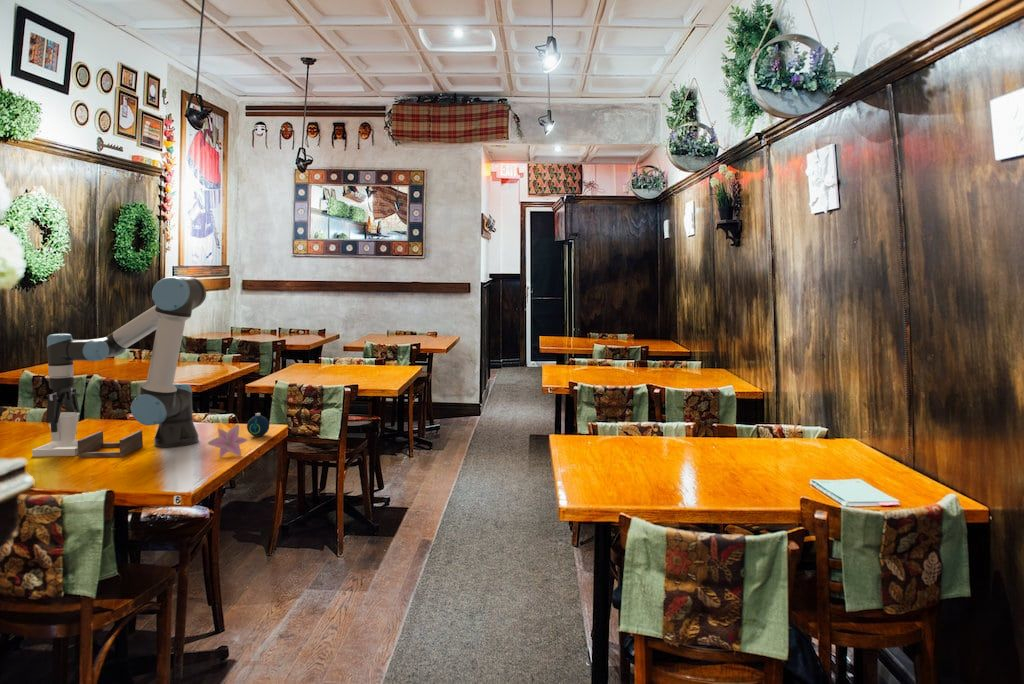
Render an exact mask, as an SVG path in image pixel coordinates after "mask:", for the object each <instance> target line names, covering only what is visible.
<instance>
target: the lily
mask: <svg viewBox="0 0 1024 684" xmlns="http://www.w3.org/2000/svg"><path fill="white" fill-rule="evenodd" d="M217 432H218V433H217V434H218V437H216V438H214V439H211V440H209V441H208V442H207V445H209V446H211V447H215V448H219V458H223V457H224V456H225V455H226V454H227V453H229V452H230V453H232V454H234V455H236V456H238V457H240V456H242V450H241V447H240V445H241V444H244V443H245V442H248V438H244V437H241V436H239V435H240V425H239V424H235V425H233V427H232V428H230V429H228V431H225V430H223V429H222V428H217Z"/></svg>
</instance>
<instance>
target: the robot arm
mask: <svg viewBox="0 0 1024 684" xmlns="http://www.w3.org/2000/svg"><path fill="white" fill-rule="evenodd" d="M206 289H207V288H206V287H205V285H204V283H203V282H202V281H201V280H199V279H197V278H196V277H192V276H167V277H164V278H161V279H160V280H158V281H157V282H156V283H155V284H154V285H153V288H152V290H151V299H152V301H153V302H154V305H153V306H152V307H150V308H148V310H146V311H144V312H142V313H141V314H139V315H138V316H136V317H134V318H133V319H132V320H130V321H128V322H127V323H125V324H124V325H122V326H120V327H119V328H117V329H116V330H114V331H113V332H111V333H110V334H108V335H107V336H105V337H98V338H91V339H73V335H72V334H71V333H53V334H48V336H47V338H46V349H47V350H46V351H47V362H48V363H47V365H48V368H47V370H48V376H49V378H48V387H49V388H50V389H52V390H53V391H52V393H51V394H47V398H46V399H47V405H46V407H47V408H46V415H45V417H46V418H45V423H46V424H49V423H50V424H51V429H50V437H51V438H50V440H51V441H50V442H53V441H61V434H60V423H58V421H59V416H60V413H62V407H63V406H64V407H65V411H66V412H77V413H79V414H80V406H79V402H78V397H77V388H73V387H75V377H74V374H75V372H74V361H83V362H84V361H86V362H87V361H89V362H90V361H91V362H98V361H99V362H100V361H104V360H105V359H106V358H112V357H113V358H114V357H118V356H120V355H123V354H124V353H125V352H126V350H127V348H129V347H130V346H132V345H134V344H135V343H137V342H139V341H140V340H142V339H143V338H145V337H147V336H148V335H150V334H152V332H155V333H154V334H155V335H154V341H153V344H152V345H153V346H152V352H151V356H150V362H149V367H148V373H147V378H146V381H145V382H143V383H141V385H140V390H139V395H137V396H136V397H135V398H134V399H133V400H132V401H131V404H130V405H131V406H130V411H131V415H132V416H133V418H134V419H135V421H137V422H138V423H139V424H141V425H144V426H154V425H155V426H156V425H158V426H157V429H156V432H155V435H154V439H153V441H154V446H156V447H159V448H176V447H177V448H178V447H182V446H183V447H184V446H188V445H189V446H190V445H193V444H196V443H198V442H199V434H198V431H197V429H196V425H195V424H194V419H193V391H192V386H191V385H190V384H189V383H174V382H175V376H176V371H177V366H178V362H179V355H180V350H181V346H182V340H183V336H184V335H183V334H184V330H185V326H186V325H185V324H186V321H187V320H189V319H191V317H192V312H193V310H195V309H196V308H198V307H200V306H201V305H203V304H204V302H205V301H206V298H207V290H206ZM77 429H78V428H77ZM77 429H76V435H77V433H78V432H77Z"/></svg>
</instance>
